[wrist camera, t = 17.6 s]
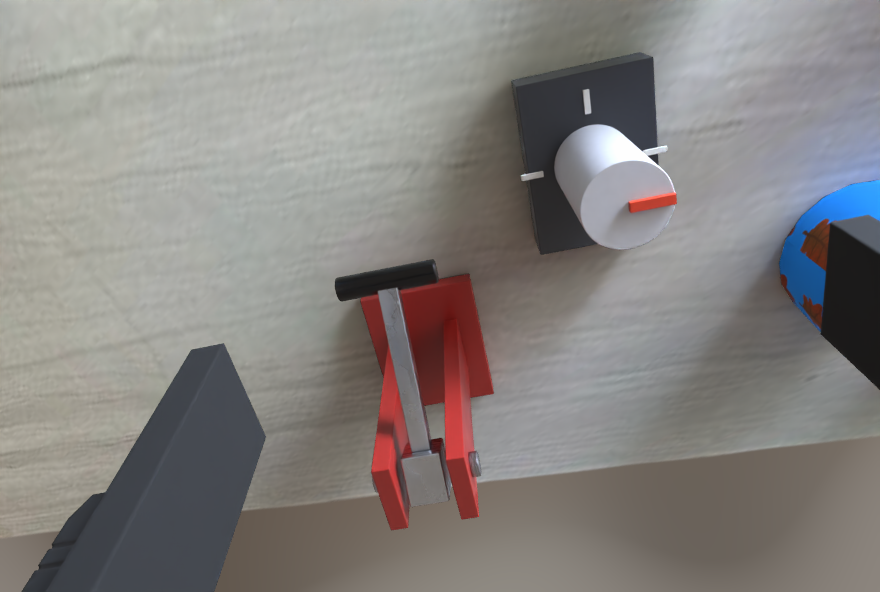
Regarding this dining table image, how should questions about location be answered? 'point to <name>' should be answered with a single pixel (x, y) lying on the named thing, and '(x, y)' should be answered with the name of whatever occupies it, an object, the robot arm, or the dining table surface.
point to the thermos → (821, 244)
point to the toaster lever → (406, 375)
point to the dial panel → (568, 109)
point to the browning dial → (614, 187)
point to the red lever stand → (431, 388)
